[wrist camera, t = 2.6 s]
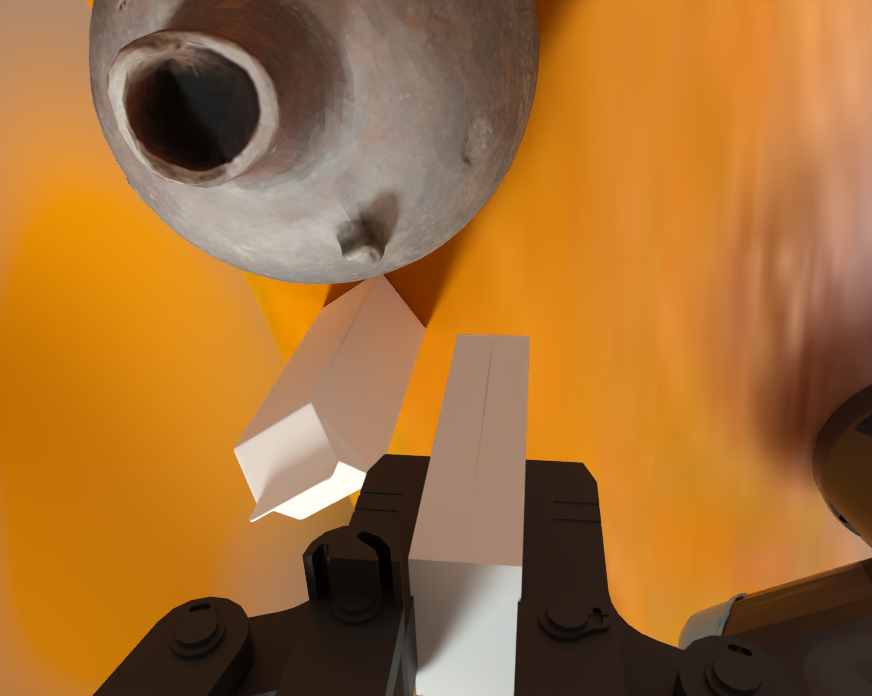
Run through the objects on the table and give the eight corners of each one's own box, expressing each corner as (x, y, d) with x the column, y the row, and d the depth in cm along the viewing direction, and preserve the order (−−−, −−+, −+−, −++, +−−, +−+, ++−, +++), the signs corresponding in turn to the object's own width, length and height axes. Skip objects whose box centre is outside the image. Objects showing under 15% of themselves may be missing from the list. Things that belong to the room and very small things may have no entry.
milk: (321, 307, 57) (206, 483, 38) (381, 268, 55) (290, 433, 36) (369, 365, 59) (282, 560, 40) (428, 329, 57) (367, 517, 38)
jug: (415, 275, 55) (299, 565, 29) (160, 110, 52) (-237, 268, 25) (628, -33, 44) (757, -21, 17) (320, -269, 40) (-94, -695, 14)
